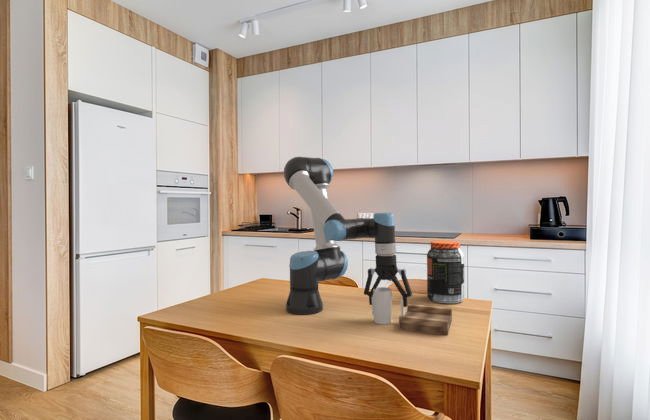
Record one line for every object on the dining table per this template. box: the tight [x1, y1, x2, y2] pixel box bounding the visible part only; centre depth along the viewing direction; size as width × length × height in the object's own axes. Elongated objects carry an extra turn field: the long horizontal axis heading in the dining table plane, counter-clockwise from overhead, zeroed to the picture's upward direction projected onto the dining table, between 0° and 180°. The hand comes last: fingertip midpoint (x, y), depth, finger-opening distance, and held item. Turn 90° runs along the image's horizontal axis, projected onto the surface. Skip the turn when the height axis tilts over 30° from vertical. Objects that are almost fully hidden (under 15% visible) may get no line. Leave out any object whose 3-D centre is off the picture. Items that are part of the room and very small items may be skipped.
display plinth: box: [398, 303, 453, 336], centre depth 136 cm, size 16×17×4 cm
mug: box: [373, 286, 393, 325], centre depth 141 cm, size 10×7×12 cm, turn 142°
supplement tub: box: [426, 240, 465, 304], centre depth 168 cm, size 16×16×26 cm
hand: (388, 314), depth 140 cm, fingers open, 10 cm apart
